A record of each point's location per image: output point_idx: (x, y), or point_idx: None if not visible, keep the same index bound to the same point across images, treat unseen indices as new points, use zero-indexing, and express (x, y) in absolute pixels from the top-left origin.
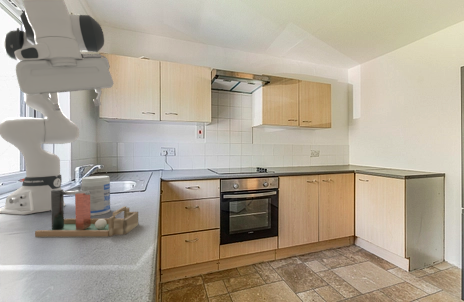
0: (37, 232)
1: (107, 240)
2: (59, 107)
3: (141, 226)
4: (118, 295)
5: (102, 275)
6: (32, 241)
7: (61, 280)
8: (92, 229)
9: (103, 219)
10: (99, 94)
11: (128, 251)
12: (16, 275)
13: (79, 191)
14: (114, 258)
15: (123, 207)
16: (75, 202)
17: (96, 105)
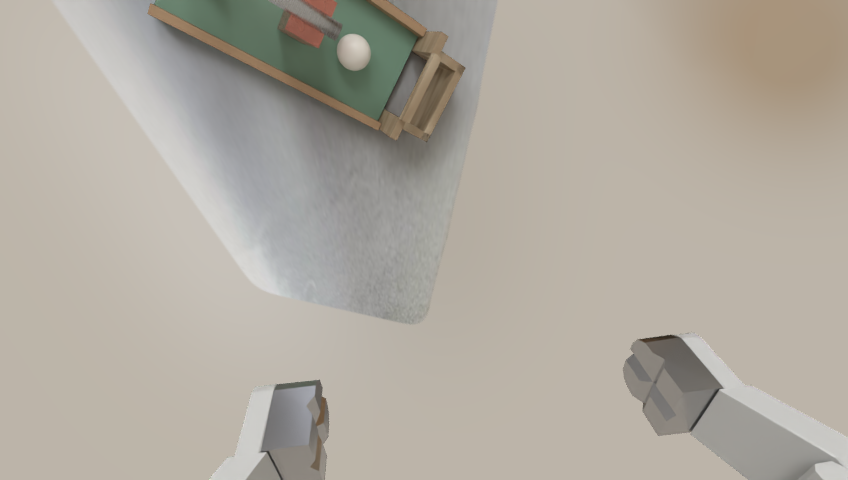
0: (158, 18)
1: (371, 133)
2: (316, 415)
3: None
4: (396, 318)
5: (375, 274)
6: (155, 32)
7: (320, 270)
8: (326, 41)
9: (365, 57)
10: (760, 474)
11: (412, 209)
12: (235, 233)
13: (298, 13)
14: (389, 228)
15: (433, 69)
16: (283, 29)
17: (634, 364)
